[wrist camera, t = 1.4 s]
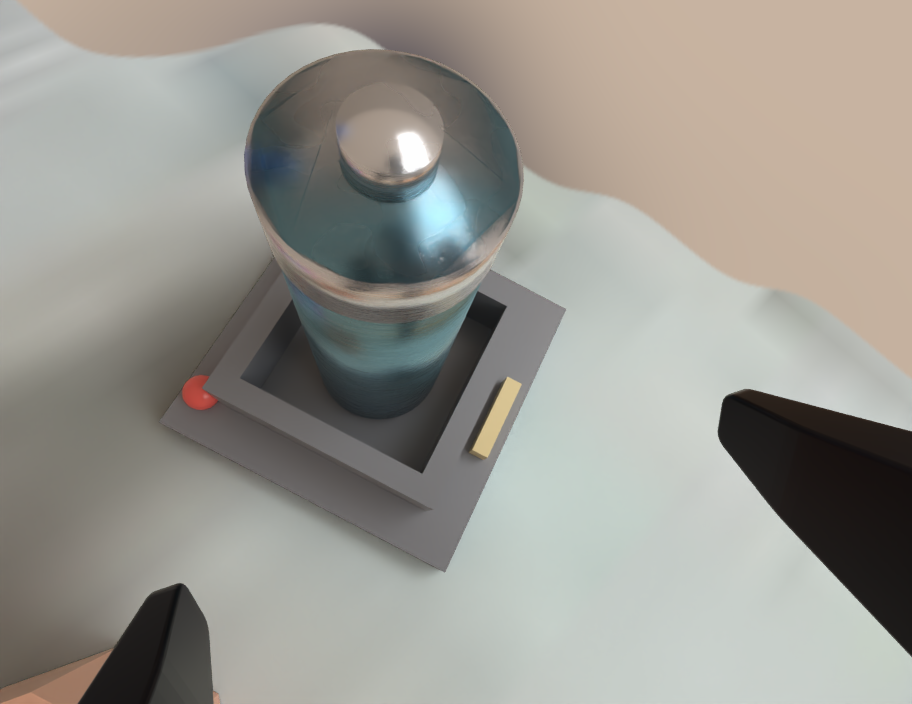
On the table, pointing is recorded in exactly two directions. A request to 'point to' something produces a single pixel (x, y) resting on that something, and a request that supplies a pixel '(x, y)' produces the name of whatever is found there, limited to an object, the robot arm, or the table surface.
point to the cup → (59, 684)
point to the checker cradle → (362, 439)
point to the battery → (382, 214)
